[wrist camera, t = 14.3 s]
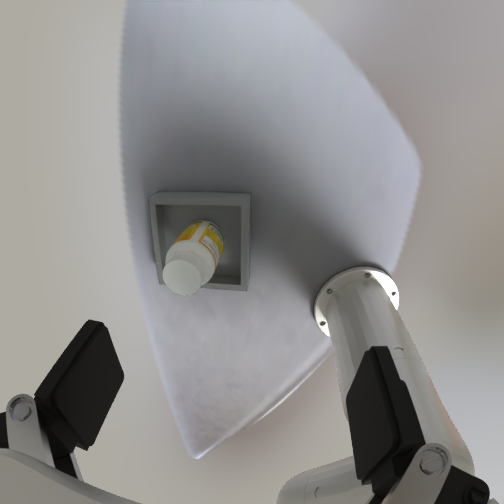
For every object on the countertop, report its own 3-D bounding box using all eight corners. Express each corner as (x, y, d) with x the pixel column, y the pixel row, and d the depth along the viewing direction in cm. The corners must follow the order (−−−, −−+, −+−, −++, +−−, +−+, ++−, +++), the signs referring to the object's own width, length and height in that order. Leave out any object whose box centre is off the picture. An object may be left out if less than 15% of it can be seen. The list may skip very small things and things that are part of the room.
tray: (250, 192, 33) (248, 199, 31) (249, 278, 38) (247, 291, 36) (157, 191, 34) (148, 197, 31) (166, 273, 39) (159, 284, 36)
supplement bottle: (229, 224, 34) (214, 261, 26) (220, 263, 37) (205, 307, 28) (186, 214, 34) (158, 247, 26) (180, 252, 37) (154, 293, 28)
